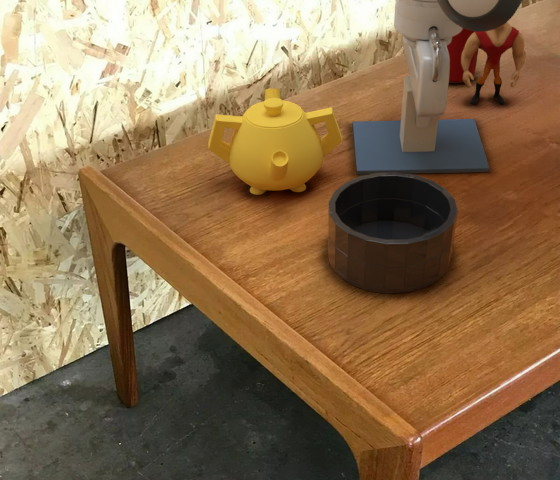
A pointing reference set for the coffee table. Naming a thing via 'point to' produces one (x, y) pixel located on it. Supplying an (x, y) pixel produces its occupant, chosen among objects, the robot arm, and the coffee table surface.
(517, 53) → the action figure
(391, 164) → the blue rectangular board
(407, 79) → the item
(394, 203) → the pot
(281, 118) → the teapot
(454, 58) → the beverage can
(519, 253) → the coffee table surface
